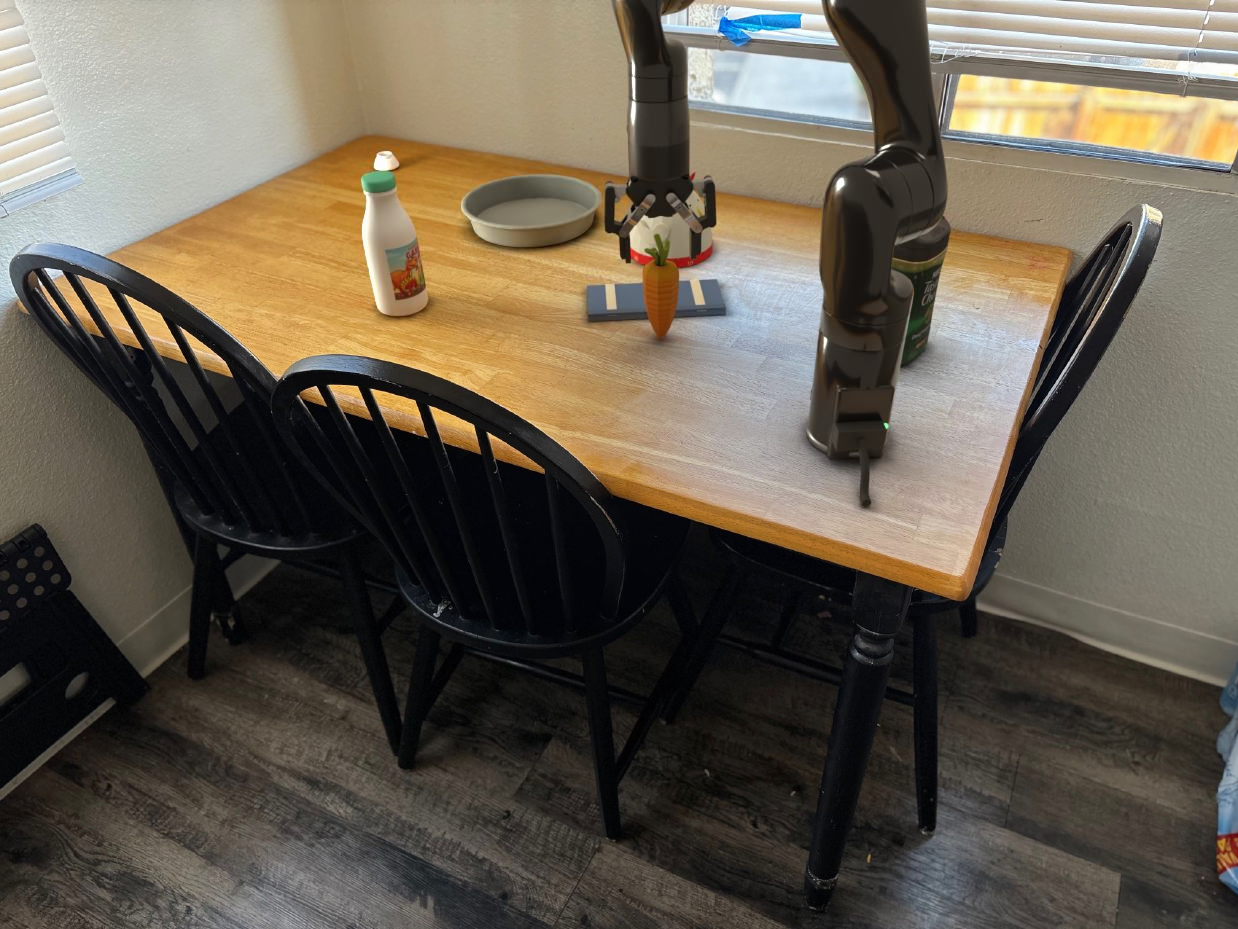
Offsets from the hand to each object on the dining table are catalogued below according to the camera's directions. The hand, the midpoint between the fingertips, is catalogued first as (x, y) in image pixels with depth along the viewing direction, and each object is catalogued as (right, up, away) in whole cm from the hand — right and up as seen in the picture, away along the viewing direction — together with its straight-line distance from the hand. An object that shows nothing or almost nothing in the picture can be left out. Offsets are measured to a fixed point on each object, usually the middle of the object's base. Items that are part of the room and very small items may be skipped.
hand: (660, 259), depth 119 cm
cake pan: (-21, +16, +41) cm, 49 cm away
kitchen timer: (+3, +8, +31) cm, 32 cm away
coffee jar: (+32, -12, +4) cm, 34 cm away
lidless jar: (-53, +34, +66) cm, 91 cm away
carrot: (0, -9, +8) cm, 12 cm away
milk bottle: (-38, -3, +18) cm, 42 cm away
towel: (0, -3, +16) cm, 16 cm away
